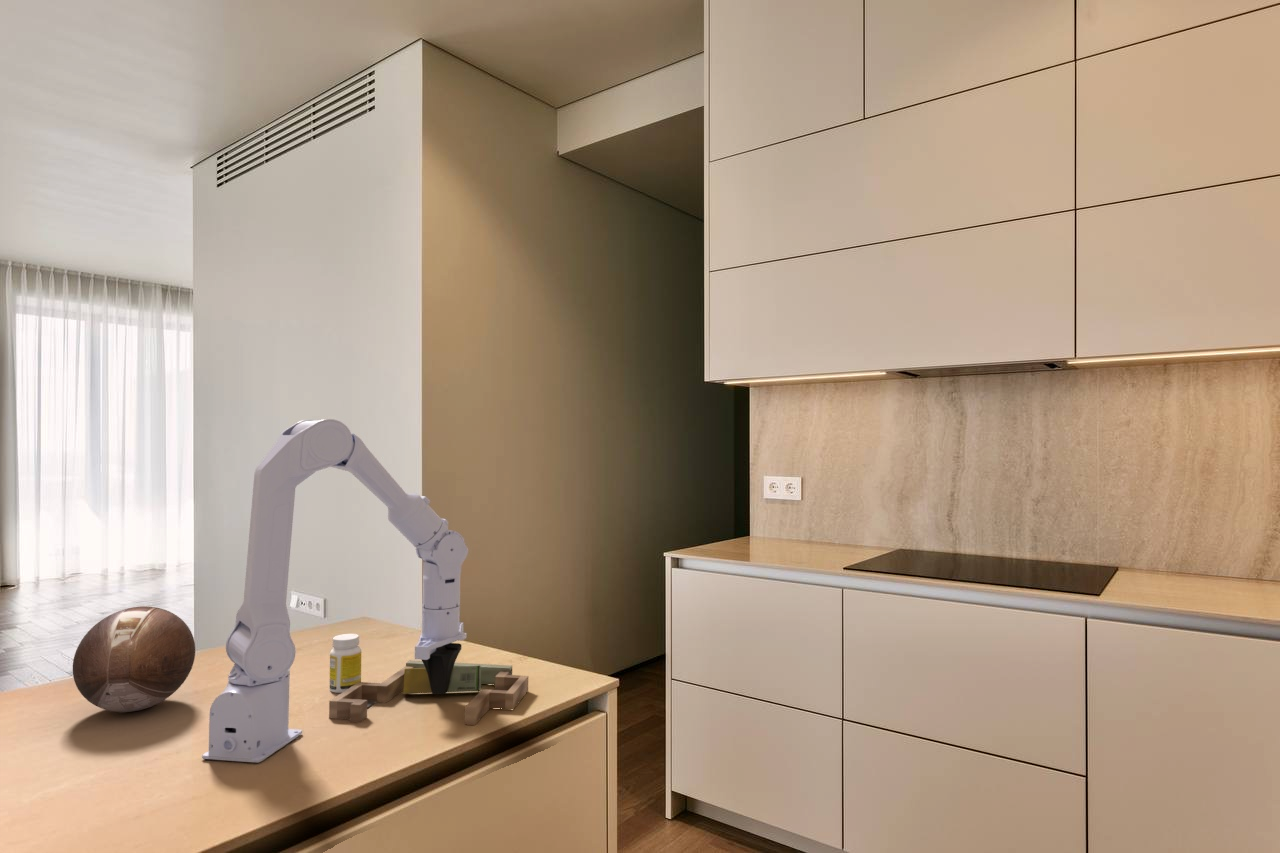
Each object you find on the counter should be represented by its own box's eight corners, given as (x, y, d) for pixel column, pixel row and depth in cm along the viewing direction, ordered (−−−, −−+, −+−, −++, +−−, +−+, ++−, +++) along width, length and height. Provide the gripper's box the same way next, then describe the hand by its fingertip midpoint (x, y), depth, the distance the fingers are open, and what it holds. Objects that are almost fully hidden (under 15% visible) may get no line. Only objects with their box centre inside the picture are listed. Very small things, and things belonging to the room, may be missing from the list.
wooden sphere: (65, 737, 97) (69, 625, 98) (76, 702, 110) (79, 603, 110) (196, 714, 106) (198, 611, 106) (192, 685, 118) (194, 593, 119)
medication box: (481, 691, 117) (482, 665, 118) (480, 691, 115) (481, 665, 116) (404, 694, 115) (406, 667, 117) (401, 694, 113) (403, 667, 114)
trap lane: (496, 730, 101) (496, 709, 101) (325, 720, 104) (326, 699, 104) (533, 684, 120) (533, 666, 121) (388, 676, 124) (389, 659, 124)
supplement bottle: (366, 684, 120) (367, 633, 120) (352, 694, 115) (353, 641, 115) (338, 683, 120) (339, 632, 120) (323, 692, 115) (324, 640, 116)
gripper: (447, 617, 106) (446, 711, 105) (481, 596, 120) (480, 679, 120) (401, 615, 107) (400, 708, 106) (440, 595, 121) (439, 676, 121)
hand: (439, 692), depth 113 cm, fingers closed
